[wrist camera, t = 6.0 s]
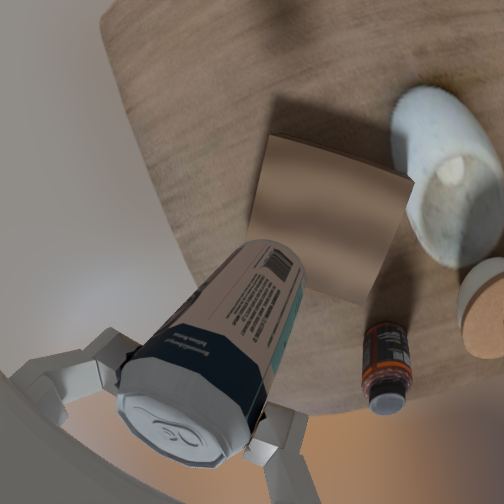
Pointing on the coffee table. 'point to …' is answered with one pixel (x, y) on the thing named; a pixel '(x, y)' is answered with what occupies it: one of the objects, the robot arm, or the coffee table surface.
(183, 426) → the beer can
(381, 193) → the walnut block
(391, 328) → the supplement bottle
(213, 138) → the coffee table surface
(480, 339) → the lidded jar
